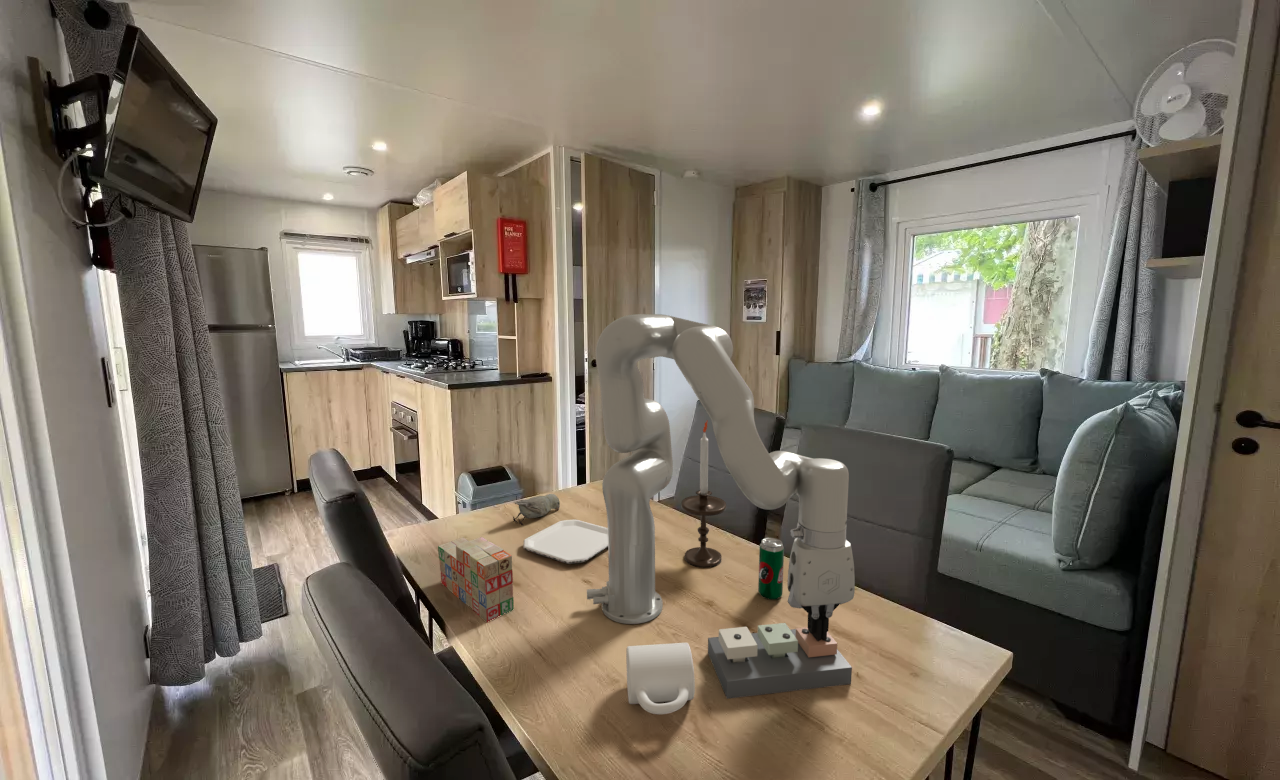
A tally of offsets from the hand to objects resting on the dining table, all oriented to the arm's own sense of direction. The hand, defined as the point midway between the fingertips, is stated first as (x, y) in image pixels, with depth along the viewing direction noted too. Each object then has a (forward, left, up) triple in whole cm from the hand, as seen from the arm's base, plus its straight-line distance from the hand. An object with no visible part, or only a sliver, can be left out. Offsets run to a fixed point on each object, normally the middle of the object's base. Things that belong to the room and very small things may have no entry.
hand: (817, 635), depth 87 cm
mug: (-28, -5, -6) cm, 29 cm away
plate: (-41, +53, -6) cm, 68 cm away
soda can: (+1, +22, -6) cm, 23 cm away
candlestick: (-9, +40, -6) cm, 42 cm away
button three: (0, 0, -5) cm, 5 cm away
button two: (-7, 0, -4) cm, 8 cm away
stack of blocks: (-62, +32, -6) cm, 70 cm away
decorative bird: (-51, +73, -6) cm, 89 cm away
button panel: (-7, 0, -5) cm, 9 cm away
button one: (-14, 0, -4) cm, 15 cm away
